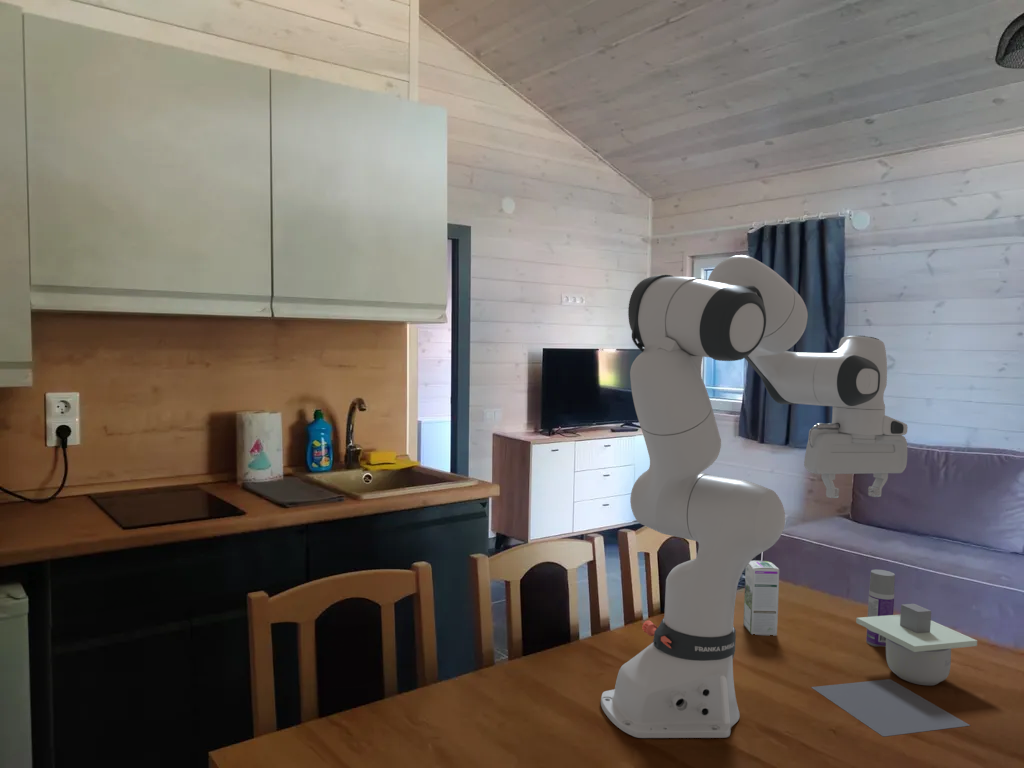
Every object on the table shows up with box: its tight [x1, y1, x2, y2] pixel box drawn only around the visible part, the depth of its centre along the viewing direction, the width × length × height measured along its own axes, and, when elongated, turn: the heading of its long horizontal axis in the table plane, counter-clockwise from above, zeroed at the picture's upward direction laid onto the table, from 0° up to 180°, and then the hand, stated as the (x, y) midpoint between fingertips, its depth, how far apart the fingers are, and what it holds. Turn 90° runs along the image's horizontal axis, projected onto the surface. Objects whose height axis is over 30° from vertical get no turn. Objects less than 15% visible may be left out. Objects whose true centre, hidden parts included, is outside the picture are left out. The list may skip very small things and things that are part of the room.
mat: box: [811, 678, 971, 737], centre depth 124 cm, size 17×17×1 cm
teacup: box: [885, 638, 952, 686], centre depth 137 cm, size 14×11×8 cm
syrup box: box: [742, 560, 780, 637], centre depth 157 cm, size 6×6×14 cm
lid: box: [855, 603, 978, 652], centre depth 136 cm, size 14×14×5 cm
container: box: [865, 569, 896, 647], centre depth 152 cm, size 5×5×15 cm
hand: (853, 497), depth 136 cm, fingers open, 8 cm apart
